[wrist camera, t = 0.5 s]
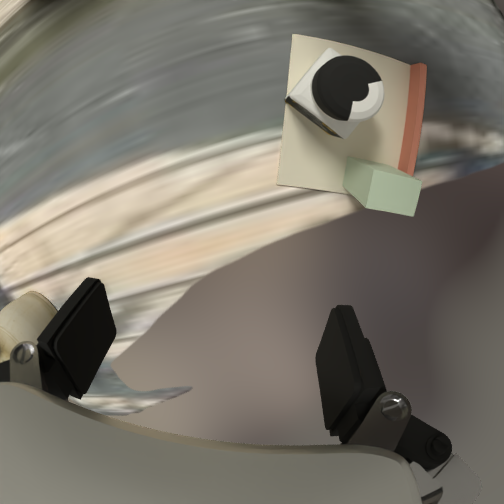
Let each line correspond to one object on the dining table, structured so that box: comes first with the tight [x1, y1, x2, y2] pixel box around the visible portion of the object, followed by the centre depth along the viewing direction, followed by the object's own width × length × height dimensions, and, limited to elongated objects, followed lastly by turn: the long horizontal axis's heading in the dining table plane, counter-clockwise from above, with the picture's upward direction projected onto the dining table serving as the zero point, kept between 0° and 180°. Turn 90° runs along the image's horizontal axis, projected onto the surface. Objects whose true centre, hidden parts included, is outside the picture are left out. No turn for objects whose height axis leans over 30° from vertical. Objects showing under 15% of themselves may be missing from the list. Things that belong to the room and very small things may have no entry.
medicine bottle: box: [285, 48, 385, 139], centre depth 23 cm, size 7×7×12 cm
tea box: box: [343, 156, 422, 216], centre depth 28 cm, size 4×6×9 cm, turn 85°
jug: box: [0, 291, 57, 363], centre depth 37 cm, size 15×16×25 cm
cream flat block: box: [277, 34, 427, 195], centre depth 28 cm, size 20×17×3 cm
